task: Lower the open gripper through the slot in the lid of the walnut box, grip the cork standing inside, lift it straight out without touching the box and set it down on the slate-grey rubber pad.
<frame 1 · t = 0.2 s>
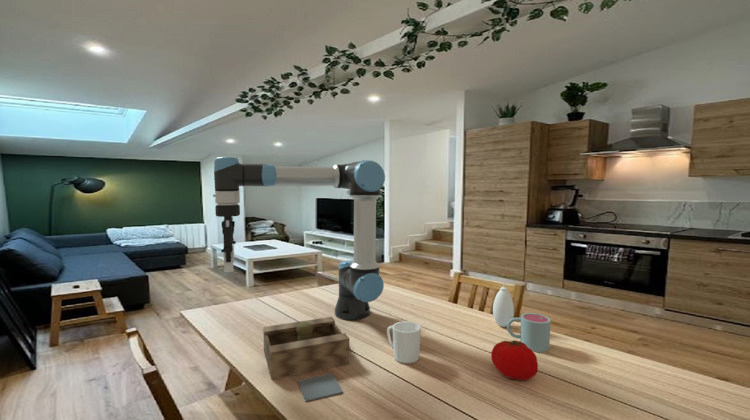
hand: (229, 267, 119), 28 cm above the table, fingers open, 13 cm apart
grey pad: (319, 387, 97), on the table
cork: (305, 357, 114), resting in walnut box
tomato: (513, 375, 104), on the table
mug: (403, 358, 114), on the table
walnut box: (305, 356, 114), on the table
mug 2: (527, 345, 123), on the table
sauce bottle: (502, 326, 139), on the table
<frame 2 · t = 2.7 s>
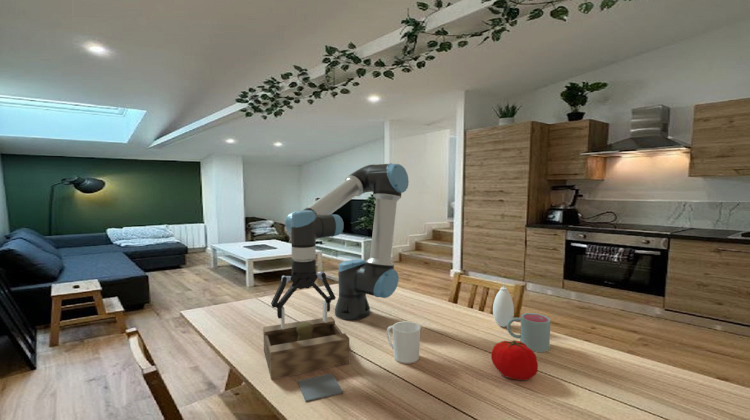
hand: (304, 324, 114), 11 cm above the table, fingers open, 13 cm apart
nothing on the table moved.
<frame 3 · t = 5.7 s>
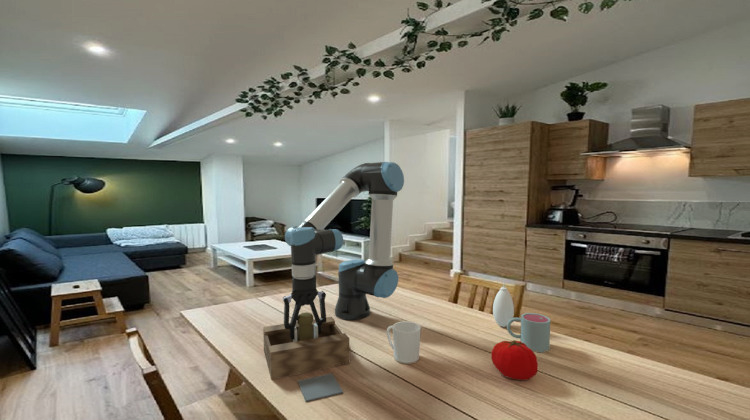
hand: (306, 345, 115), 3 cm above the table, fingers closed on cork, 6 cm apart
cork: (306, 347, 115), point 3 cm above the table, touching gripper
everything else where it was.
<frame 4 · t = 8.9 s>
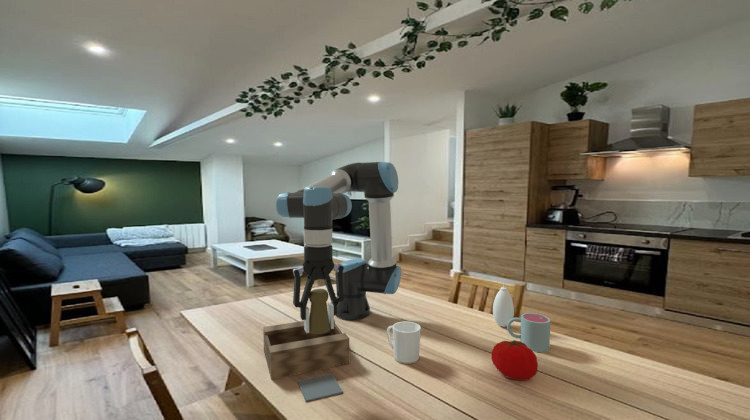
hand: (319, 328, 96), 17 cm above the table, fingers closed on cork, 6 cm apart
cork: (319, 330, 96), point 16 cm above the table, touching gripper
everything else where it was.
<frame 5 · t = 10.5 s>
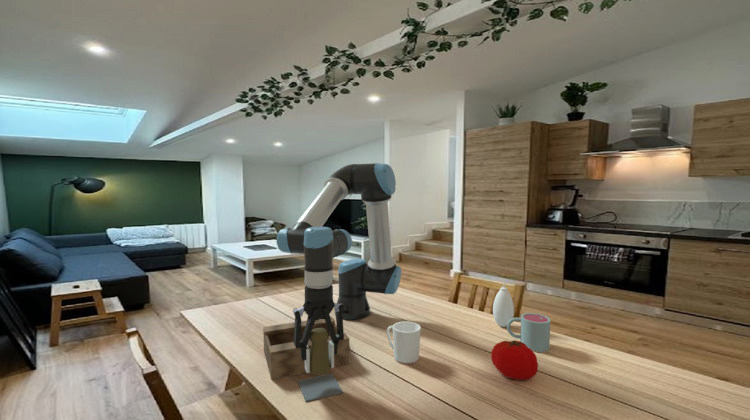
hand: (319, 367, 97), 6 cm above the table, fingers closed on cork, 6 cm apart
cork: (319, 369, 97), point 5 cm above the table, touching gripper
everything else where it was.
when the fingers open (2 cm above the table, at t = 12.1 s): cork drops 1 cm, resting on grey pad.
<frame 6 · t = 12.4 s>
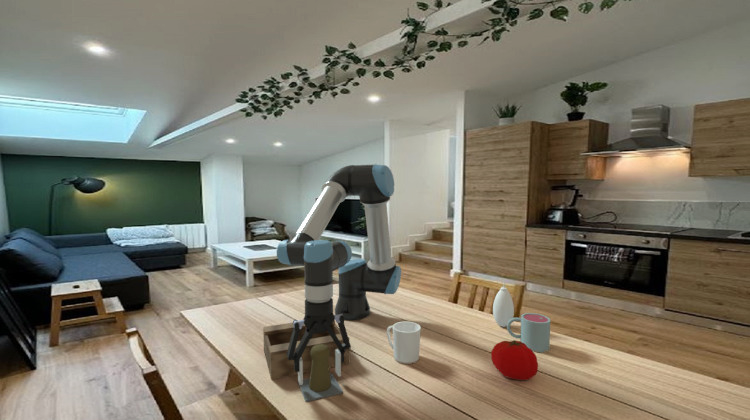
hand: (319, 377, 97), 3 cm above the table, fingers open, 10 cm apart
cork: (320, 386, 97), resting on grey pad
everything else where it was.
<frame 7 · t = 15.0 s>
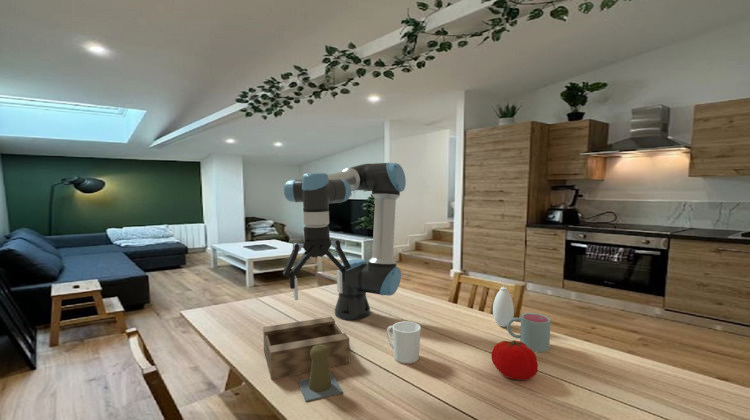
hand: (318, 295, 107), 22 cm above the table, fingers open, 13 cm apart
nothing on the table moved.
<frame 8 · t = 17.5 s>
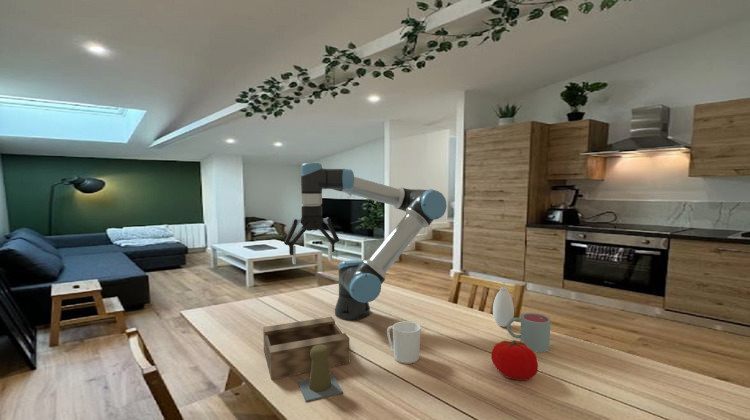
hand: (312, 262, 132), 27 cm above the table, fingers open, 13 cm apart
nothing on the table moved.
at the end: cork inside the target area on the grey pad (0.2 cm from its centre), point 0.2 cm above the grey pad's base; cork tilted 0°; the gripper is holding nothing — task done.
